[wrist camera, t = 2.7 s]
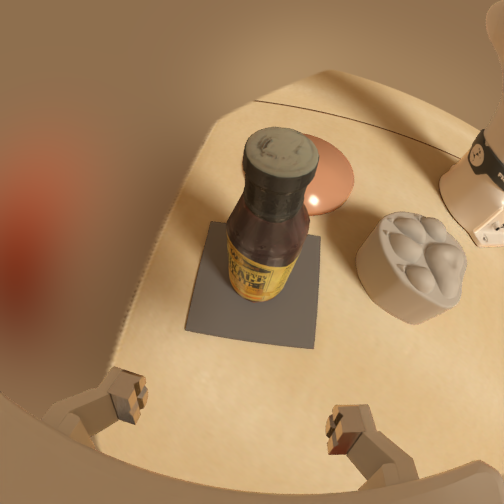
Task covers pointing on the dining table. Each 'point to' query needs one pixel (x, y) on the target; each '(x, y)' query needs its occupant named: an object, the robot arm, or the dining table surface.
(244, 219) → the sauce bottle
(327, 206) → the terracotta plate
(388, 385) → the dining table surface
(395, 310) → the lumpy-topped squat cylinder
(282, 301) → the rubber mat
